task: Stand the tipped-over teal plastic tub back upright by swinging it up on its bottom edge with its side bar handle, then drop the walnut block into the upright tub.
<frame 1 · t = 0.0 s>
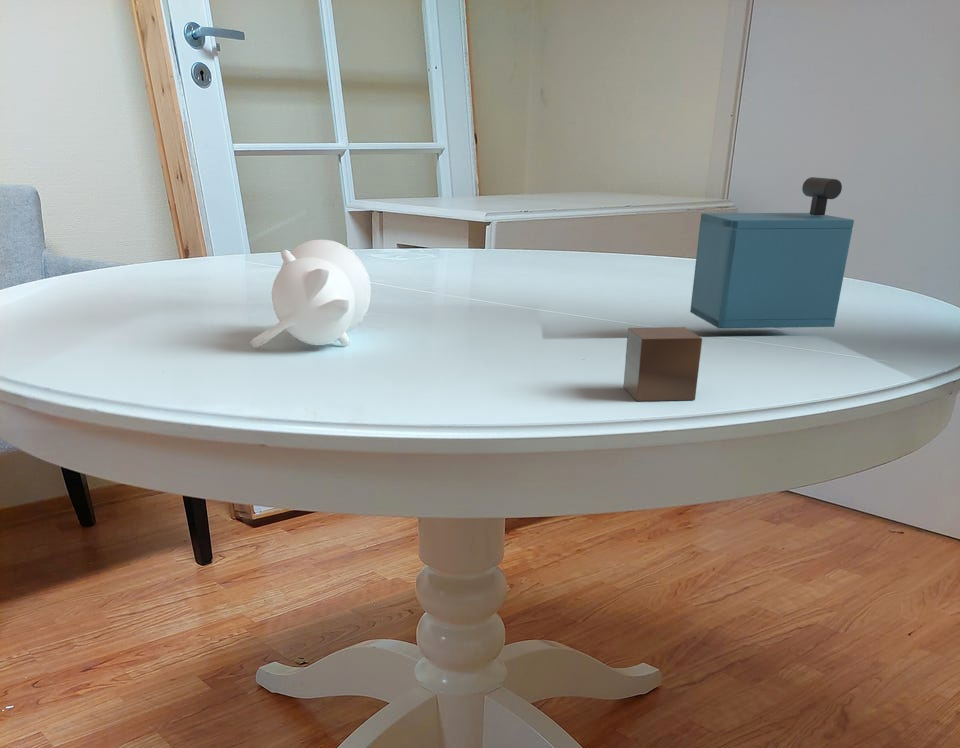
tub: (769, 251, 82), point 6 cm above the table, hinge at 90.0°
block: (658, 393, 61), on the table
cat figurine: (314, 344, 77), on the table
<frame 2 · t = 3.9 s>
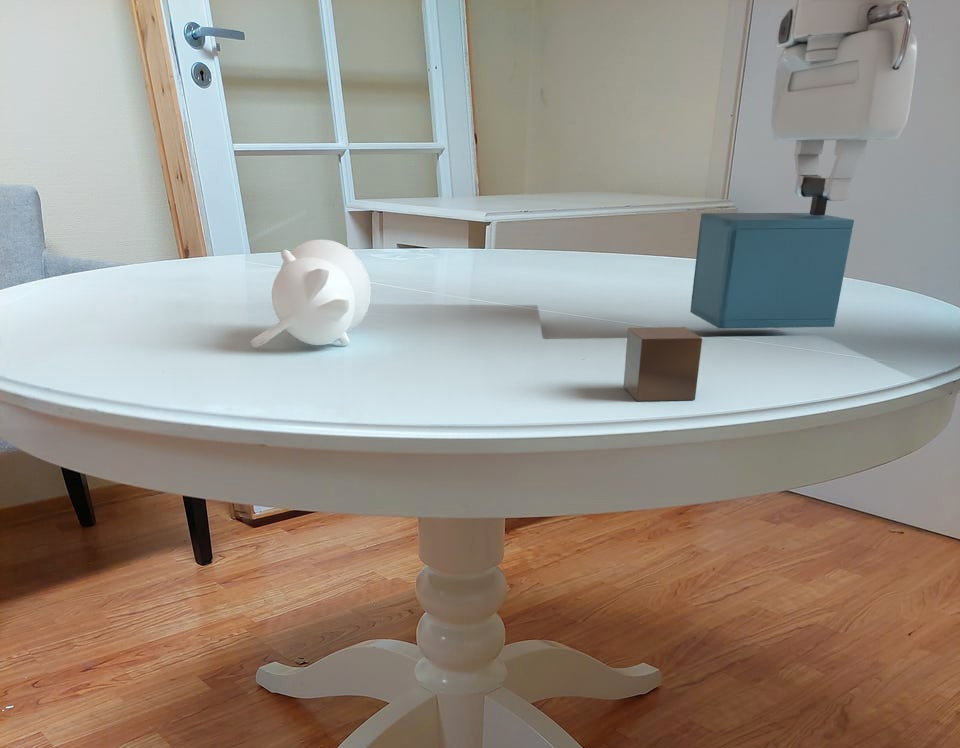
hand: (819, 198, 81), 11 cm above the table, tool pointing down, fingers closed on tub, 5 cm apart
tub: (769, 251, 82), point 6 cm above the table, hinge at 90.0°, touching gripper
everything else where it was.
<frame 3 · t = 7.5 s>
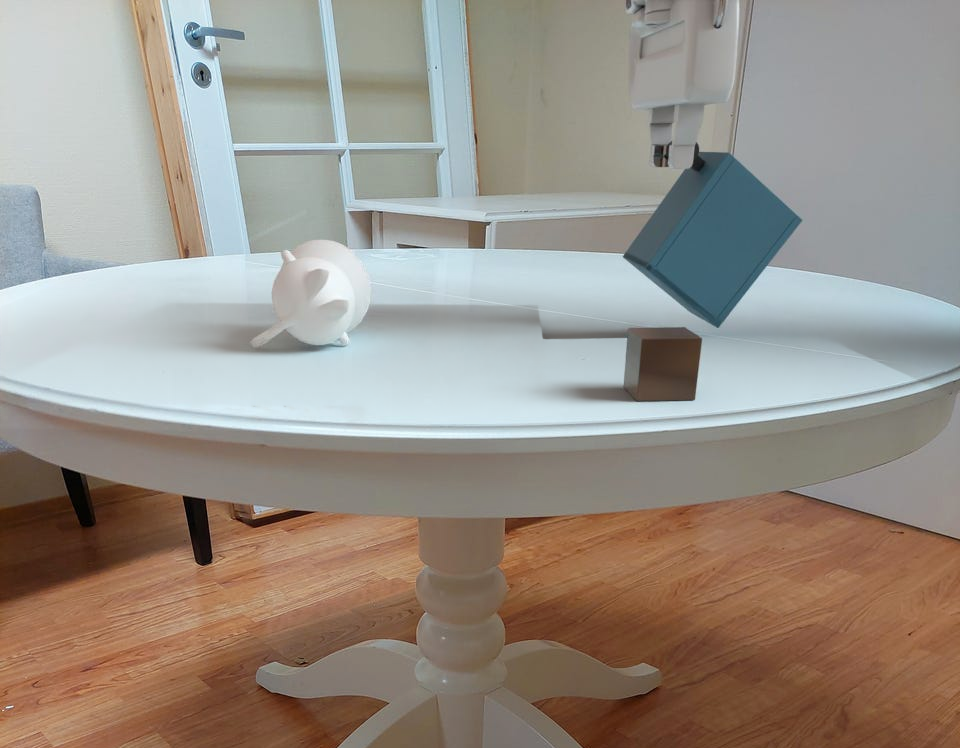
hand: (669, 168, 78), 13 cm above the table, tool pointing down, fingers closed on tub, 5 cm apart
tub: (695, 228, 81), point 8 cm above the table, hinge at 35.2°, touching gripper
everything else where it was.
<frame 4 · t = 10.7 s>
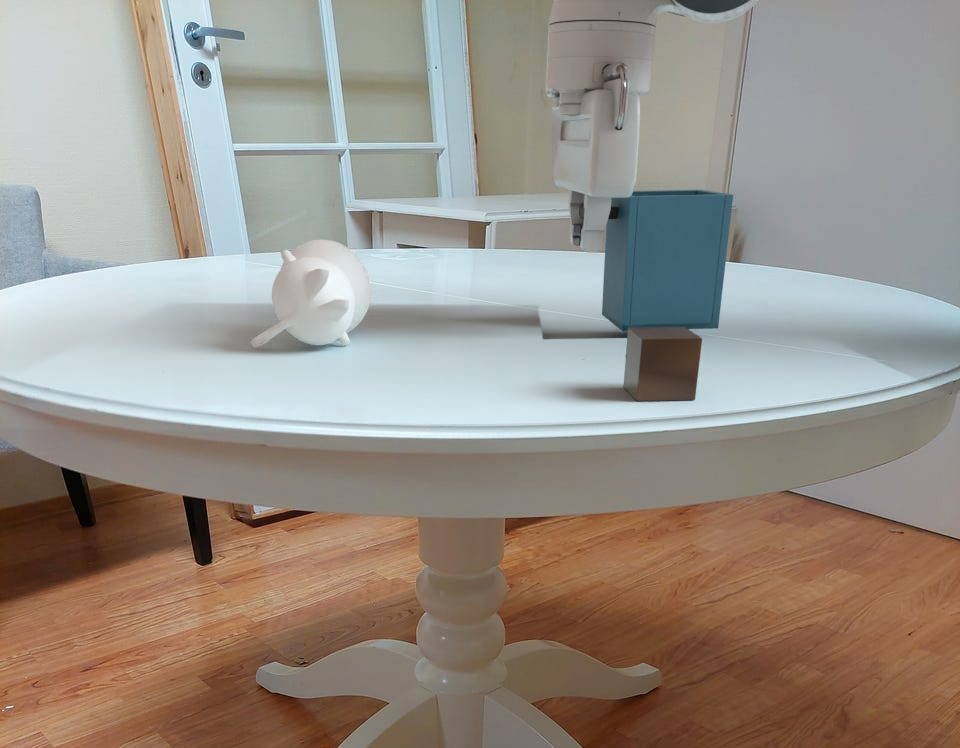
hand: (585, 248, 81), 7 cm above the table, tool pointing down, fingers open, 4 cm apart
tub: (646, 259, 82), point 6 cm above the table, hinge at -0.9°
everything else where it was.
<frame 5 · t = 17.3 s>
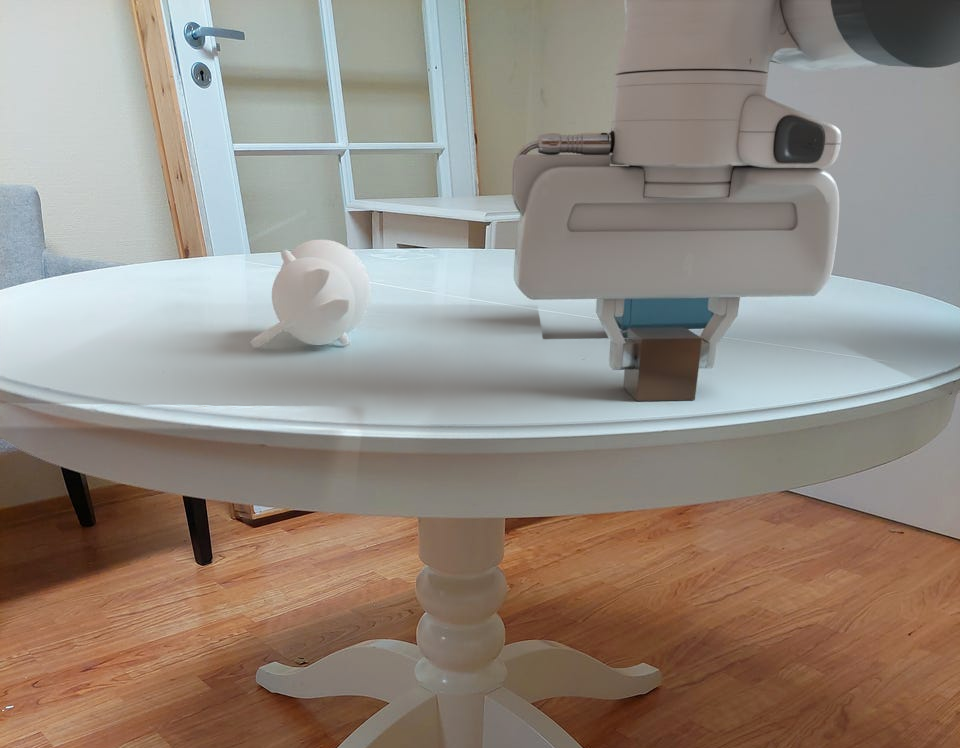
hand: (661, 367, 60), 2 cm above the table, tool pointing down, fingers closed on block, 4 cm apart
block: (658, 393, 61), on the table, touching gripper
everything else where it was.
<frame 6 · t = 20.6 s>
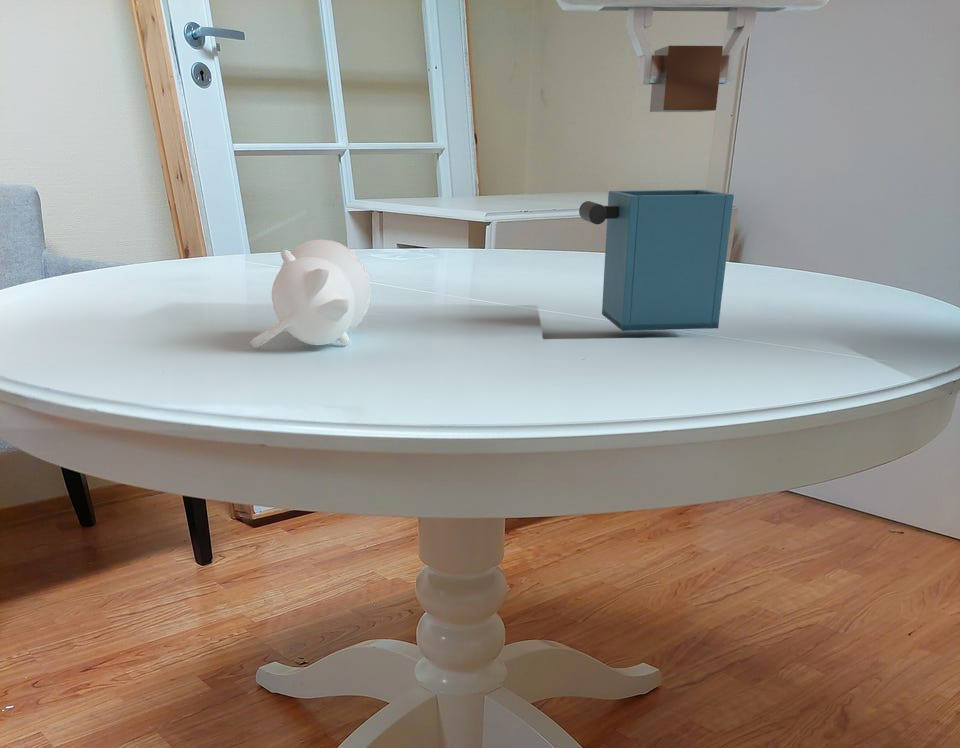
hand: (685, 84, 66), 19 cm above the table, tool pointing down, fingers closed on block, 4 cm apart
block: (682, 111, 67), point 17 cm above the table, touching gripper
everything else where it was.
when the fingers open (11 cm above the table, at t = 24.4 s): block stays where it is, resting on tub.
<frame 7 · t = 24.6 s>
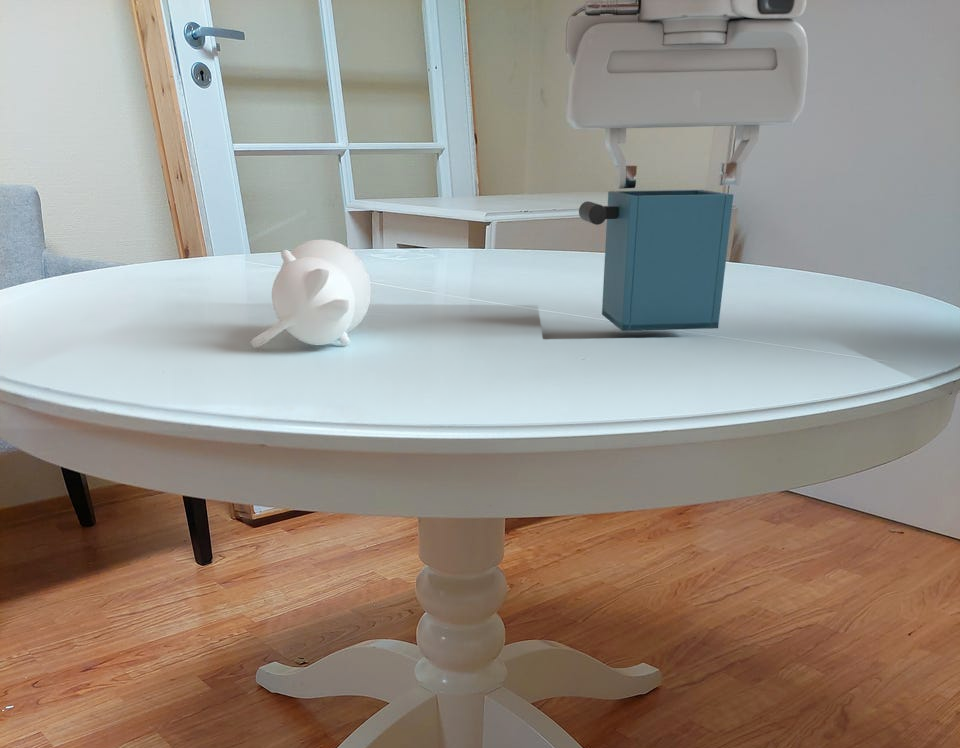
hand: (677, 186, 79), 12 cm above the table, tool pointing down, fingers open, 8 cm apart
tub: (646, 259, 82), point 6 cm above the table, hinge at -0.8°, touching block
block: (658, 314, 84), point 1 cm above the table, touching tub
everything else where it was.
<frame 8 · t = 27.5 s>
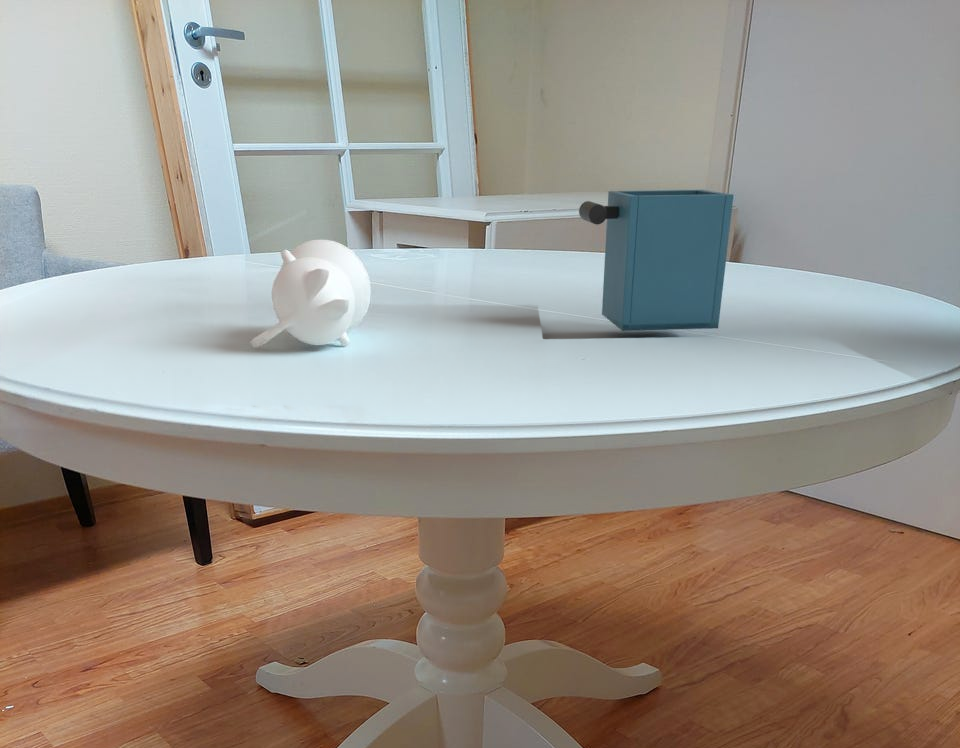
nothing on the table moved.
at the end: tub at -1° (first picture: +90°); block inside the target area on the tub (0.0 cm from its centre), point 0.6 cm above the tub's base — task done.
